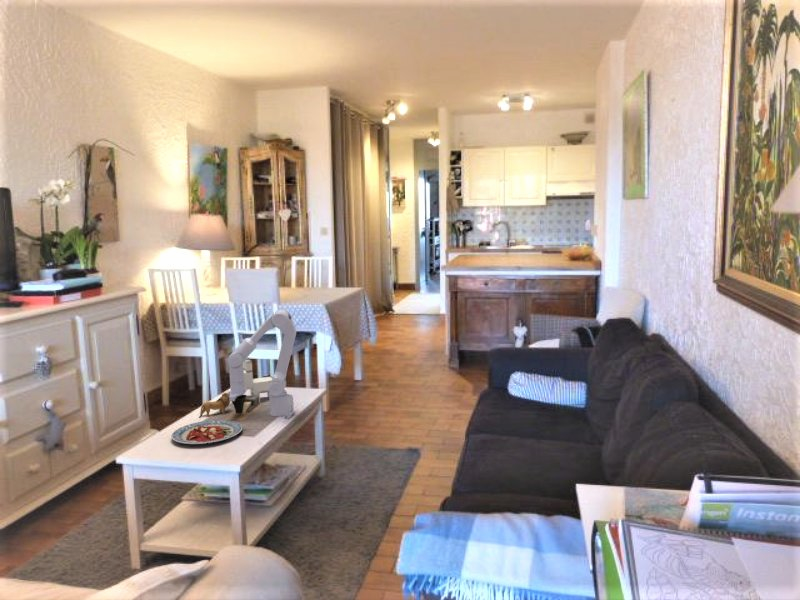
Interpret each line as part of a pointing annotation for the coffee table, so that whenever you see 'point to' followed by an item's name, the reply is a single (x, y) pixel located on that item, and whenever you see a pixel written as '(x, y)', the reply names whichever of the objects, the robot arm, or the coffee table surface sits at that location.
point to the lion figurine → (216, 405)
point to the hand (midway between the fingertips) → (239, 413)
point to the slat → (246, 407)
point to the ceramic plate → (206, 432)
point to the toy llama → (255, 380)
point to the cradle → (256, 405)
